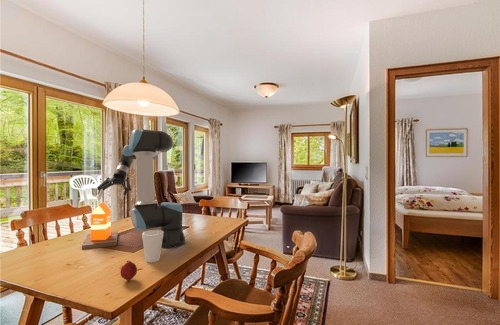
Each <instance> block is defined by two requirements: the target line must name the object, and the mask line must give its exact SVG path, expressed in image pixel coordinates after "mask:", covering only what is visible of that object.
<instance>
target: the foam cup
mask: <svg viewBox="0 0 500 325" xmlns="http://www.w3.org/2000/svg"><path fill="white" fill-rule="evenodd" d="M163 233H164V231H162V230H161V229H148V230H144V231H143V232H142V234H141V240H142V244H143V245H142V246H143V250H144V251H143V252H144V254H143V255H144V260H145V262H146V263H155V262H158V261H160V259H161V258H160V257H161V251H162V248H163V247H162V240H163Z"/></svg>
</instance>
